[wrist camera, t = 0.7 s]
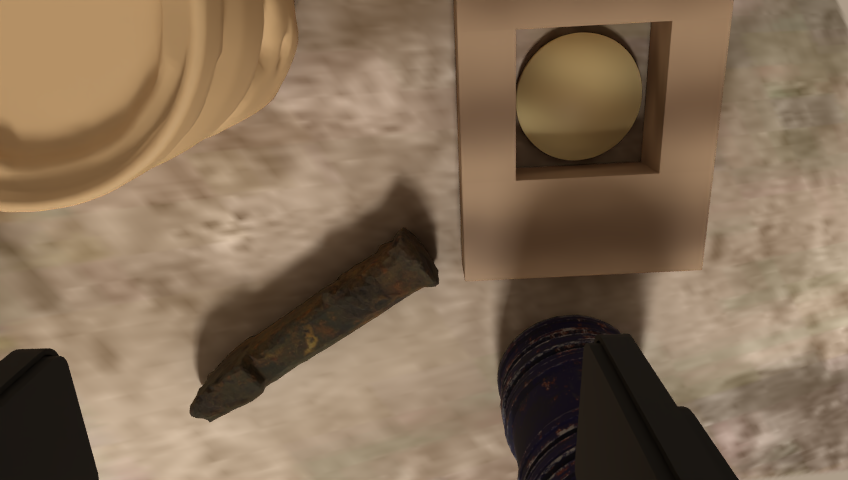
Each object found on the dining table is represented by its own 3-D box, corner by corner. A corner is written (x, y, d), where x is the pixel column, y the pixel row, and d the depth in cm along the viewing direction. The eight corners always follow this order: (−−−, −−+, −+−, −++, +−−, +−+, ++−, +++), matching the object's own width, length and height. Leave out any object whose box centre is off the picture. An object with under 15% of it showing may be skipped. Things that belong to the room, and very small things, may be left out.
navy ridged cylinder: (536, 457, 44) (589, 663, 30) (469, 357, 41) (493, 533, 27) (662, 396, 42) (782, 586, 28) (601, 287, 39) (701, 437, 25)
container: (37, -46, 32) (-391, -120, 15) (232, -173, 30) (-12, -420, 13) (174, 158, 36) (-46, 279, 19) (355, 57, 34) (288, 93, 17)
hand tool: (408, 216, 38) (405, 240, 33) (442, 265, 39) (443, 296, 34) (179, 357, 41) (149, 396, 37) (216, 399, 42) (191, 441, 38)
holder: (450, -89, 31) (453, -100, 29) (718, -105, 31) (747, -117, 28) (462, 262, 38) (465, 281, 35) (681, 251, 38) (701, 269, 35)
